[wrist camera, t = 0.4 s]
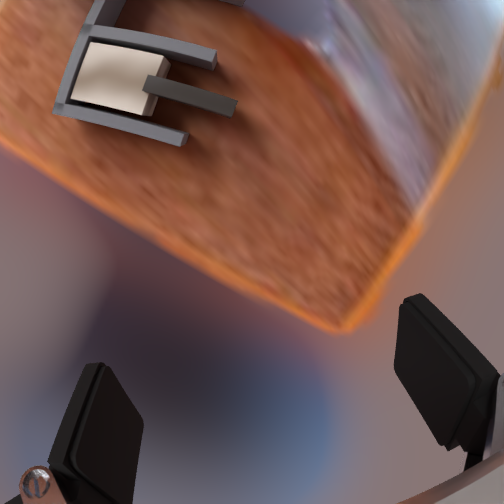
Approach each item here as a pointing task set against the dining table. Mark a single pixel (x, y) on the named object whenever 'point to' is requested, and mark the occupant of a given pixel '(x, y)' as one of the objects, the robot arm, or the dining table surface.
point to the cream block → (138, 83)
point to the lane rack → (103, 32)
